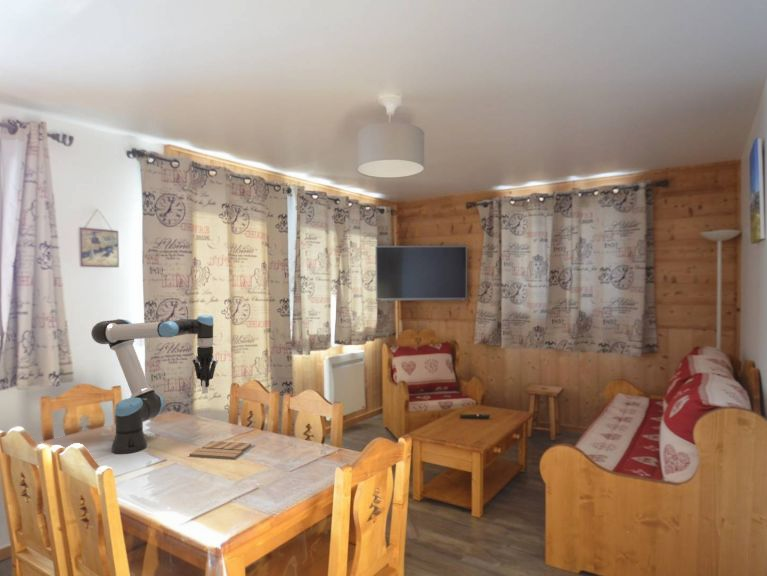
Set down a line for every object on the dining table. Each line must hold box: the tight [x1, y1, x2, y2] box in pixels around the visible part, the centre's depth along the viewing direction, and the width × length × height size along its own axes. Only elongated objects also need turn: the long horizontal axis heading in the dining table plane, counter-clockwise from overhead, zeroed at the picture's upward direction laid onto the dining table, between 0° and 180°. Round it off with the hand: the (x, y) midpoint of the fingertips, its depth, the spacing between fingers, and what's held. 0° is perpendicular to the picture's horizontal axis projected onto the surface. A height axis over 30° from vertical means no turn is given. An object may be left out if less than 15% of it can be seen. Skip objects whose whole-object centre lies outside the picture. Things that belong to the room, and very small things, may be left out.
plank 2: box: [222, 441, 252, 451], centre depth 230 cm, size 10×9×1 cm
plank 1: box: [201, 440, 232, 449], centre depth 232 cm, size 10×9×1 cm
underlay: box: [186, 444, 257, 461], centre depth 227 cm, size 24×20×2 cm
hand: (204, 393), depth 243 cm, fingers closed
